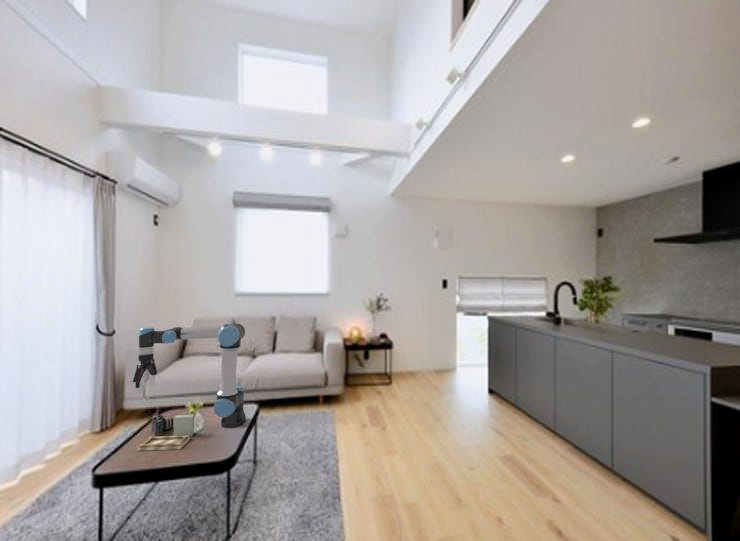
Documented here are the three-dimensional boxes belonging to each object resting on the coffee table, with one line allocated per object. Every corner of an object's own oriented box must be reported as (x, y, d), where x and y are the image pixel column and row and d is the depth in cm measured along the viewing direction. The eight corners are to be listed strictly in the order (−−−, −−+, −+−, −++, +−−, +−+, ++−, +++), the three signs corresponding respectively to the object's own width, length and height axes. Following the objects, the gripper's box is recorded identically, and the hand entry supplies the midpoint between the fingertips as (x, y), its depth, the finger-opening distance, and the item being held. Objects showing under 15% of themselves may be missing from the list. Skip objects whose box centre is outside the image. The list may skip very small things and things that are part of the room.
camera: (175, 432, 199) (176, 415, 199) (154, 438, 191) (155, 420, 192) (169, 424, 209) (170, 409, 209) (149, 430, 201) (149, 413, 202)
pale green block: (193, 433, 198) (194, 414, 198) (191, 435, 194) (191, 417, 195) (176, 433, 197) (177, 415, 197) (173, 436, 193) (173, 417, 194)
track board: (190, 438, 191) (190, 434, 191) (180, 449, 179) (180, 444, 179) (150, 440, 189) (150, 435, 189) (137, 450, 177) (137, 446, 177)
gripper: (151, 349, 209) (150, 383, 208) (125, 358, 184) (124, 396, 183) (163, 349, 209) (163, 382, 209) (140, 358, 185) (139, 396, 184)
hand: (145, 389), depth 196 cm, fingers open, 13 cm apart
